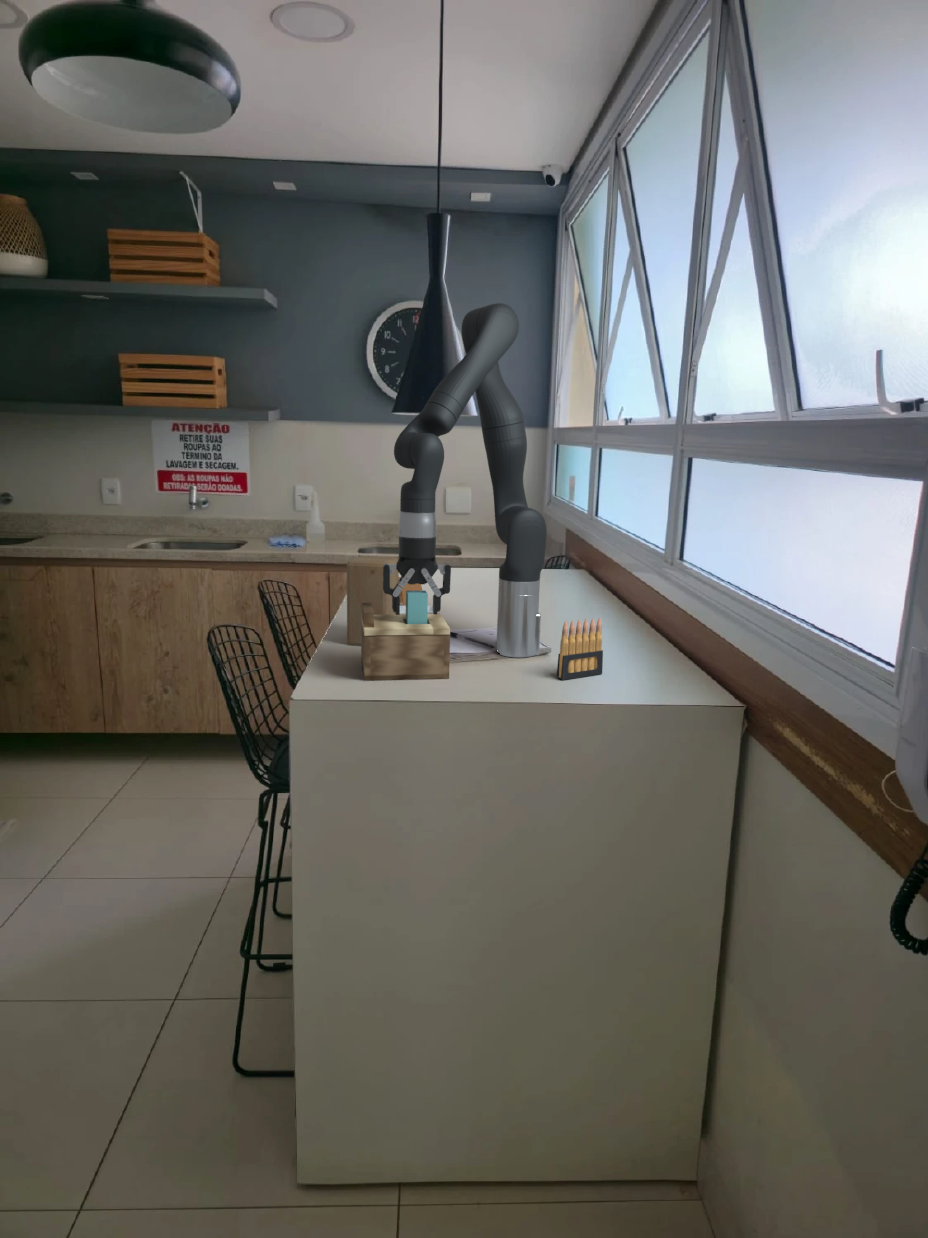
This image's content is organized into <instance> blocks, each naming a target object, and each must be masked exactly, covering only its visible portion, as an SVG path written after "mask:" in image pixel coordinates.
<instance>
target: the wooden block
mask: <svg viewBox="0 0 928 1238" xmlns="http://www.w3.org/2000/svg"><path fill="white" fill-rule="evenodd" d="M398 559H399V558H396V557H390V556H389V557H388V556H369V555H368V556H367V555H361V556H358V557H356V558H353V559H350V560H348V561H347V563H346V637H347V639H346V642H347V644H348V645H350V646H358V647H361V615H362V603H372V607H373V610H374V615H393V614H396V613H395V612H393V609H392V596H391V595H389V594H385V593H384V590H383V564H384V563H387V564H397V562H398ZM399 575H400V573H399V572H398V571H397V569H395V570H394V572H393V574H392V575H390V588H392V589H394V587H395V586H396V584H397V582H398V580H399V577H400V576H399Z"/></svg>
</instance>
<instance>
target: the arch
mask: <svg viewBox="0 0 928 1238" xmlns="http://www.w3.org/2000/svg"><path fill="white" fill-rule="evenodd" d="M400 577H401V576H399V579H400ZM406 591H423V587H422V584H418V583H417V584H408V583H407V584H406V586H405V587H404V588H403V589H402V591H401V592H400V594H399V597H400V604H402V606H406Z"/></svg>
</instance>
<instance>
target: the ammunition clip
mask: <svg viewBox="0 0 928 1238" xmlns="http://www.w3.org/2000/svg"><path fill="white" fill-rule="evenodd" d="M562 625H563V626H562V629H561V630H562V631H561V633H562V634H561V639H560V647H559V653H558V654H557V655H558V659H557V669H556V678H557V679H560V680H562V681H565V680H571V679H577V678H584V677H591V676H597V675H603V662H604V661H603V660H604V659H603V656H604V650H603V626H602V625H603V624H602V619H601V617H598V619H597V622H595V619H594V618H592V619H591V620H590V623H588V619H587V618H585V619H584V622H583V625H582V622H581V620H580V619H578V621H577V623H576V627H575V621H574V620H571V622H570V625H569V627H568V623H567V621H564V623H563V624H562Z"/></svg>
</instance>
